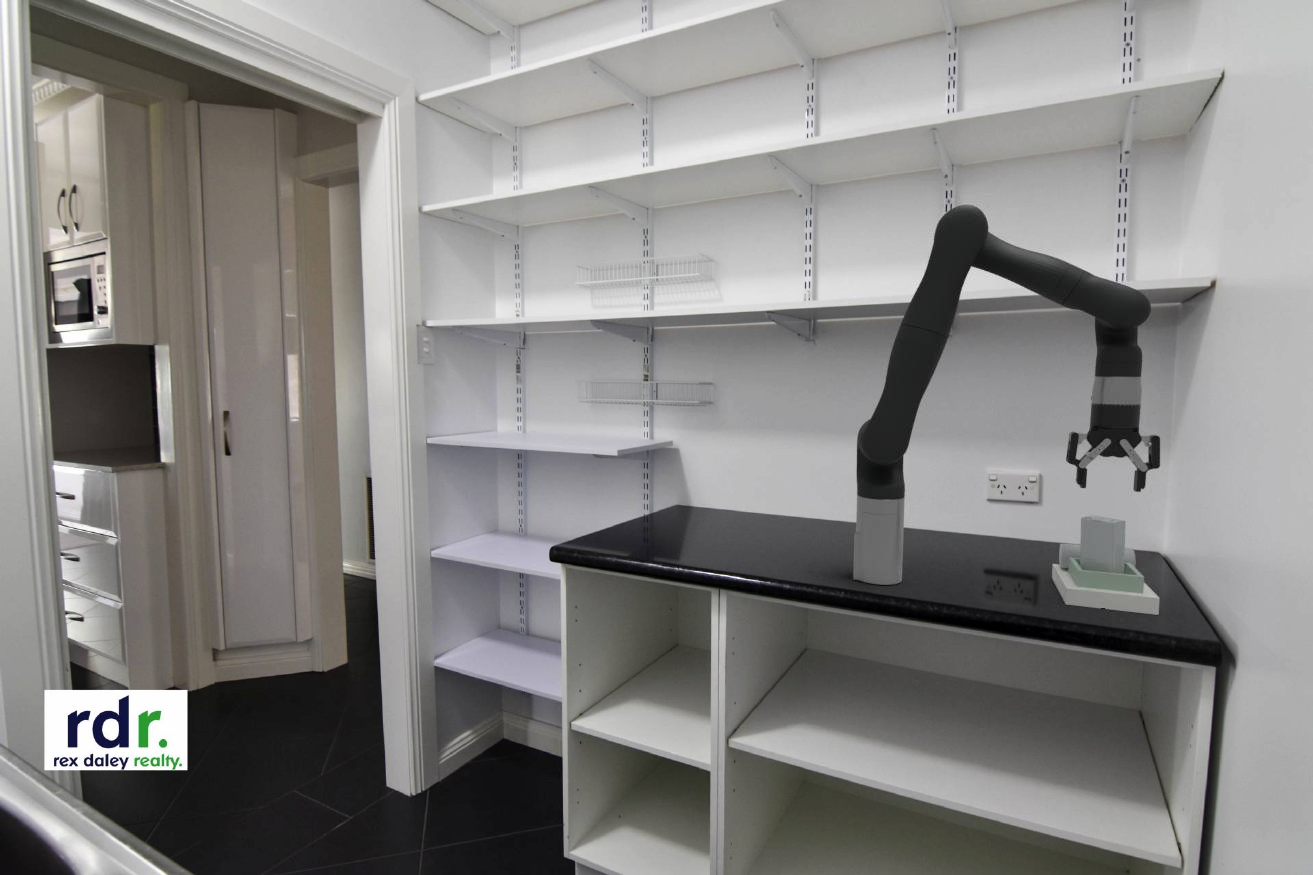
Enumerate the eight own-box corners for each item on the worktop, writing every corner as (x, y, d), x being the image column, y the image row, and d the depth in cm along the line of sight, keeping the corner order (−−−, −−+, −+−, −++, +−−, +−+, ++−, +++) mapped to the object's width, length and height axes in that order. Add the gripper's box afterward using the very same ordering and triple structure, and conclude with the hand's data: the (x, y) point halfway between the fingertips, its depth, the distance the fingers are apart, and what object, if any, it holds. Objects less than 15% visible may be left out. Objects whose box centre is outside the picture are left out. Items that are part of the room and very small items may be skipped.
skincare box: (1124, 584, 126) (1128, 520, 125) (1111, 588, 124) (1115, 522, 123) (1089, 576, 131) (1093, 514, 130) (1076, 579, 129) (1080, 516, 128)
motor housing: (1065, 604, 124) (1068, 561, 123) (1051, 577, 140) (1053, 539, 140) (1158, 614, 118) (1161, 570, 118) (1132, 586, 135) (1135, 546, 134)
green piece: (1077, 586, 125) (1078, 570, 124) (1068, 572, 134) (1069, 557, 134) (1143, 593, 121) (1144, 577, 120) (1129, 578, 130) (1130, 562, 130)
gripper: (1074, 401, 124) (1068, 489, 125) (1169, 403, 118) (1162, 495, 120) (1067, 400, 131) (1062, 484, 132) (1157, 402, 125) (1150, 489, 126)
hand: (1109, 489), depth 126 cm, fingers open, 8 cm apart
